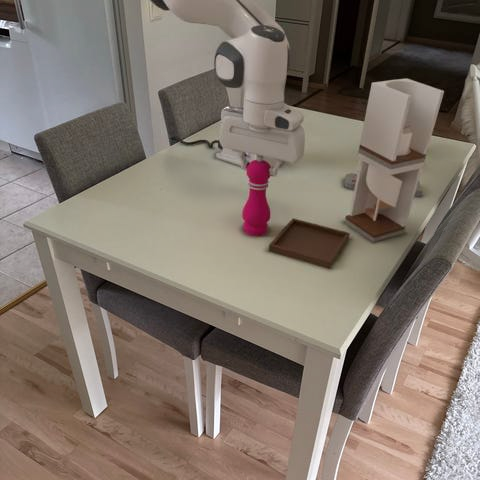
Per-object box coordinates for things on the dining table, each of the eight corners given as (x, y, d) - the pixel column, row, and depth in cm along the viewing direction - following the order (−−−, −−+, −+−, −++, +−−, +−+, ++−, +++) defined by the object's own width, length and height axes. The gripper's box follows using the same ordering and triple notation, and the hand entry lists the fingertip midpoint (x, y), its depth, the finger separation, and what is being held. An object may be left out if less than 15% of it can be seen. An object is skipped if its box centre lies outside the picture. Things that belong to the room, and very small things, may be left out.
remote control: (420, 197, 146) (422, 190, 144) (344, 188, 148) (345, 181, 147) (417, 186, 152) (419, 179, 150) (344, 177, 154) (346, 171, 153)
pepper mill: (273, 227, 128) (280, 152, 115) (262, 239, 123) (268, 162, 110) (248, 220, 130) (252, 146, 118) (236, 232, 125) (239, 156, 112)
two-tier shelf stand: (344, 222, 132) (371, 82, 109) (374, 214, 136) (406, 78, 114) (372, 242, 124) (408, 96, 102) (403, 233, 128) (444, 91, 106)
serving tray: (268, 251, 119) (269, 244, 118) (292, 224, 130) (292, 218, 129) (329, 268, 114) (330, 262, 113) (348, 239, 125) (349, 232, 124)
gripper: (214, 107, 109) (214, 167, 118) (300, 124, 102) (293, 186, 111) (227, 100, 113) (226, 159, 122) (310, 116, 107) (303, 176, 116)
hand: (259, 172), depth 117 cm, fingers closed on pepper mill, 6 cm apart
